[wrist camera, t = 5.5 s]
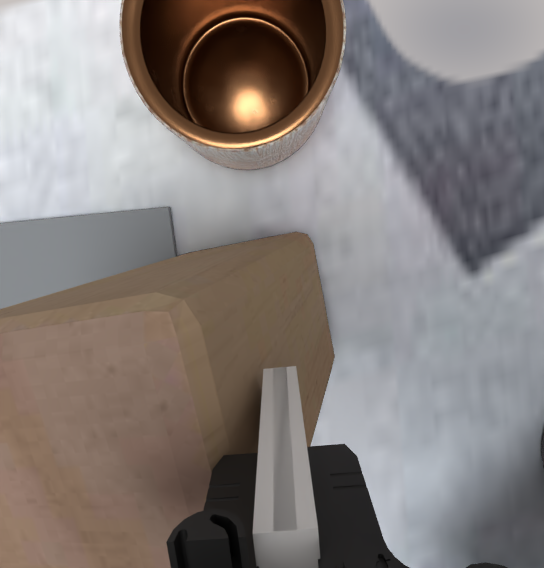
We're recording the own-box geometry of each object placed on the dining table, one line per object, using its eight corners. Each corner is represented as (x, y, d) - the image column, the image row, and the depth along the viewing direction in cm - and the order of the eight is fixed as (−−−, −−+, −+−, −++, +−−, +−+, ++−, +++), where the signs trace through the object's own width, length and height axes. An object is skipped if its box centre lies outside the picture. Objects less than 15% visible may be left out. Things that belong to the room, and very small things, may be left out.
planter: (254, -33, 27) (243, -162, 18) (356, 100, 28) (395, 47, 19) (136, 81, 28) (67, 18, 19) (239, 202, 30) (222, 200, 20)
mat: (170, 206, 30) (167, 206, 29) (198, 407, 33) (196, 411, 32) (-95, 233, 30) (-102, 233, 30) (-44, 428, 33) (-49, 432, 33)
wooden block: (213, 376, 32) (-24, 633, 13) (183, 253, 31) (-134, 345, 12) (338, 364, 29) (264, 669, 10) (312, 227, 28) (171, 295, 9)
